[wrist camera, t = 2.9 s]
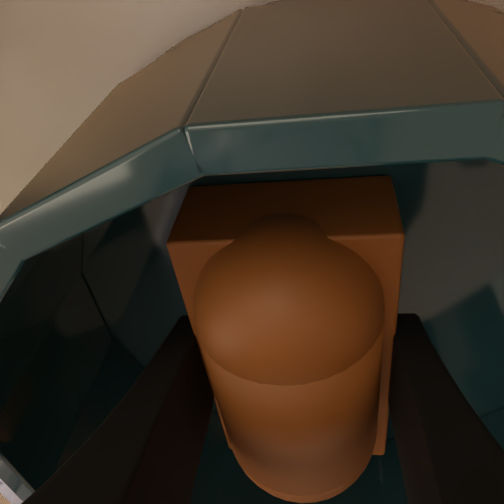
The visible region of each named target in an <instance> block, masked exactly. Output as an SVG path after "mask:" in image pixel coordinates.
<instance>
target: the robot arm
mask: <svg viewBox="0 0 504 504" xmlns="http://www.w3.org/2000/svg"><path fill="white" fill-rule="evenodd" d="M213 403H214V394H213V391H212V388H211V385H210V381H209V378H208V375H207V372H206V368H205V365H204V362H203V359H202V355H201V352H200V349H199V346H198V342H197V339H196V336H195V335H194V333H193V329H192V326H191V323H190V320H189V317H188V315H183V316H181V317H180V318H179V319H178V320H177V322H176V323H175V325H174V326H173V328H172V329H171V331H170V332H169V334H168V335H167V337H166V338H165V340H164V341H163V343H162V344H161V346H160V347H159V349H158V350H157V352H156V353H155V355H154V356H153V358H152V359H151V360H150V362H149V363H148V365H147V366H146V367H145V369H144V370H143V371H142V373H141V374H140V376H139V377H138V378H137V380H136V381H135V382H134V384H133V385H132V386H131V388H130V389H129V390H128V392H127V393H126V394H125V395H124V397H123V398H122V399H121V400H120V402H119V403H118V404H117V405H116V407H115V408H114V409H113V410H112V412H111V413H110V414H109V415H108V416H107V418H106V419H105V420H104V421H103V422H102V423H101V425H100V426H99V427H98V428H97V429H96V430H95V431H94V433H93V434H92V435H91V436H90V437H89V438H88V439H87V440H86V441H85V442H84V444H83V445H82V446H81V447H80V448H79V449H78V450H77V451H76V452H75V453H74V454H73V455H72V456H71V457H70V458H69V459H68V460H67V461H66V462H65V463H64V464H63V465H62V466H61V467H60V468H59V469H58V470H57V471H56V472H55V473H54V474H53V475H52V476H51V477H50V478H49V479H48V480H47V481H46V482H45V483H44V484H43V485H41V486H40V487H39V488H38V489H37V490H36V491H35V492H34V493H33V494H31V495H30V496H29V497H28V498H27V499H26V500H25V501H22V500H21V499H20V498H19V497H18V496H17V495H16V494H15V493H14V492H13V491H12V490H11V489H10V488H9V487H8V486H7V485H6V484H5V483H4V482H3V481H2V480H1V479H0V493H1V494H2V495H3V496H4V497H5V498H6V499H7V500H8V501H9V502H10V503H11V504H190V502H191V497H192V492H193V487H194V483H195V478H196V474H197V470H198V466H199V462H200V458H201V454H202V449H203V445H204V441H205V437H206V433H207V429H208V424H209V420H210V416H211V412H212V407H213ZM388 405H389V411H390V416H391V421H392V426H393V431H394V436H395V440H396V445H397V450H398V455H399V460H400V465H401V470H402V475H403V480H404V484H405V489H406V494H407V500H408V504H504V449H503V448H502V447H501V446H500V444H499V443H498V442H497V441H496V439H495V438H494V437H493V435H492V434H491V433H490V431H489V430H488V429H487V427H486V426H485V424H484V423H483V422H482V420H481V419H480V418H479V416H478V415H477V413H476V412H475V411H474V409H473V408H472V406H471V405H470V403H469V402H468V401H467V399H466V398H465V396H464V395H463V393H462V391H461V390H460V388H459V387H458V385H457V384H456V382H455V381H454V379H453V378H452V376H451V374H450V373H449V371H448V370H447V368H446V366H445V365H444V363H443V361H442V360H441V358H440V356H439V354H438V353H437V351H436V349H435V347H434V346H433V344H432V342H431V340H430V338H429V336H428V334H427V332H426V330H425V328H424V326H423V324H422V322H421V319H420V317H419V316H418V315H417V314H415V313H398V317H397V328H396V334H395V335H394V339H393V350H392V361H391V373H390V384H389V396H388Z"/></svg>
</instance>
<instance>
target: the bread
mask: <svg viewBox="0 0 504 504" xmlns="http://www.w3.org/2000/svg"><path fill="white" fill-rule="evenodd" d="M404 241H405V234H404V229H403V225H402V221H401V216H400V212H399V208H398V203H397V199H396V195H395V190H394V186H393V182H392V178H391V176H388V175H384V176H367V177H349V178H331V179H313V180H296V181H278V182H260V183H242V184H224V185H207V186H191V187H189V188H188V190H187V192H186V195H185V197H184V200H183V202H182V205H181V207H180V210H179V212H178V215H177V217H176V220H175V222H174V225H173V227H172V230H171V232H170V235H169V237H168V240H167V243H166V245H167V249H168V252H169V255H170V258H171V262H172V265H173V268H174V271H175V274H176V278H177V281H178V284H179V287H180V291H181V294H182V297H183V300H184V304H185V307H186V310H187V313H188V317H189V320H190V323H191V326H192V329H193V333H194V335H195V336H196V339H197V342H198V346H199V349H200V352H201V355H202V359H203V362H204V365H205V368H206V372H207V375H208V378H209V381H210V385H211V388H212V391H213V394H214V401H215V404H216V407H217V410H218V414H219V417H220V420H221V423H222V426H223V430H224V433H225V436H226V439H227V443H228V446H229V448H230V449H232V450H233V453H234V455H235V457H236V459H237V461H238V463H239V465H240V466H241V468H242V469H243V471H244V472H245V474H246V475H247V476H248V477H249V478H250V479H251V480H252V481H253V482H254V483H255V484H256V485H257V486H259V487H260V488H262V489H263V490H265V491H266V492H268V493H269V494H271V495H273V496H275V497H278V498H280V499H283V500H285V501H290V502H297V503H315V502H319V501H323V500H327V499H330V498H332V497H334V496H336V495H338V494H340V493H342V492H343V491H345V490H346V489H347V488H348V487H350V486H351V485H352V484H353V483H354V482H355V481H356V480H357V479H358V478H359V476H360V475H361V474H362V473H363V471H364V470H365V469H366V467H367V465H368V463H369V461H370V459H371V457H372V455H384V454H385V448H386V437H387V426H388V415H389V405H388V396H389V384H390V373H391V361H392V350H393V339H394V335H395V334H396V328H397V317H398V306H399V295H400V284H401V274H402V263H403V252H404Z"/></svg>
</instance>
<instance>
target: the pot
mask: <svg viewBox="0 0 504 504" xmlns="http://www.w3.org/2000/svg"><path fill="white" fill-rule="evenodd" d="M384 175H388V176H391V178H392V182H393V186H394V190H395V195H396V199H397V203H398V208H399V212H400V216H401V221H402V225H403V229H404V234H405V241H404V252H403V263H402V274H401V284H400V295H399V306H398V313H415V314H417V315H418V316H419V317H420V319H421V322H422V324H423V326H424V328H425V330H426V332H427V334H428V336H429V338H430V340H431V342H432V344H433V346H434V347H435V349H436V351H437V353H438V354H439V356H440V358H441V360H442V361H443V363H444V365H445V366H446V368H447V370H448V371H449V373H450V374H451V376H452V378H453V379H454V381H455V382H456V384H457V385H458V387H459V388H460V390H461V391H462V393H463V395H464V396H465V398H466V399H467V401H468V402H469V403H470V405H471V406H472V408H473V409H474V411H475V412H476V413H477V415H478V416H479V418H480V419H481V420H482V422H483V423H484V424H485V426H486V427H487V429H488V430H489V431H490V433H491V434H492V435H493V437H494V438H495V439H496V441H497V442H498V443H499V444H500V446H501V447H502V448H503V449H504V11H501V10H499V9H497V8H494V7H491V6H487V5H483V4H479V3H475V2H471V1H467V0H279V1H274V2H271V3H268V4H265V5H259V6H251V7H246V8H244V9H243V10H242V9H239V10H237V11H236V12H234V13H233V14H231V15H229V16H228V17H226V18H224V19H223V20H221V21H219V22H217V23H215V24H213V25H211V26H209V27H207V28H205V29H203V30H202V31H200V32H198V33H196V34H194V35H192V36H190V37H188V38H186V39H184V40H182V41H181V42H179V43H178V44H176V45H175V46H174V47H172V48H171V49H170V50H168V51H167V52H166V53H164V54H163V55H161V56H160V57H159V58H157V59H156V60H155V61H153V62H152V63H151V64H149V65H148V66H146V67H145V68H144V69H142V70H140V71H139V72H137V73H135V74H134V75H132V76H131V77H129V78H127V79H126V80H124V81H122V82H121V83H119V84H118V85H117V86H116V87H115V88H114V89H113V90H112V91H111V92H110V93H109V95H108V96H107V97H106V98H105V99H104V100H103V101H102V102H101V103H100V105H99V106H98V107H97V108H96V109H95V110H94V111H93V112H92V113H91V114H90V116H89V117H88V118H87V119H86V120H85V121H84V122H83V123H82V124H81V126H80V127H79V128H78V129H77V130H76V131H75V132H74V133H73V134H72V136H71V137H70V138H69V139H68V140H67V141H66V142H65V143H64V144H63V146H62V147H61V148H60V149H59V150H58V151H57V152H56V153H55V154H54V156H53V157H52V158H51V159H50V160H49V161H48V162H47V163H46V164H45V166H44V167H43V168H42V169H41V170H40V171H39V172H38V173H37V174H36V176H35V177H34V178H33V179H32V180H31V181H30V182H29V183H28V184H27V186H26V187H25V188H24V189H23V190H22V191H21V192H20V193H19V194H18V196H17V197H16V198H15V199H14V200H13V201H12V202H11V203H10V204H9V206H8V207H7V208H6V209H5V210H4V211H3V212H2V213H1V214H0V479H1V480H2V481H3V482H4V483H5V484H6V485H7V486H8V487H9V488H10V489H11V490H12V491H13V492H14V493H15V494H16V495H17V496H18V497H19V498H20V499H21V500H22V501H25V500H26V499H27V498H28V497H29V496H30V495H31V494H33V493H34V492H35V491H36V490H37V489H38V488H39V487H40V486H41V485H43V484H44V483H45V482H46V481H47V480H48V479H49V478H50V477H51V476H52V475H53V474H54V473H55V472H56V471H57V470H58V469H59V468H60V467H61V466H62V465H63V464H64V463H65V462H66V461H67V460H68V459H69V458H70V457H71V456H72V455H73V454H74V453H75V452H76V451H77V450H78V449H79V448H80V447H81V446H82V445H83V444H84V442H85V441H86V440H87V439H88V438H89V437H90V436H91V435H92V434H93V433H94V431H95V430H96V429H97V428H98V427H99V426H100V425H101V423H102V422H103V421H104V420H105V419H106V418H107V416H108V415H109V414H110V413H111V412H112V410H113V409H114V408H115V407H116V405H117V404H118V403H119V402H120V400H121V399H122V398H123V397H124V395H125V394H126V393H127V392H128V390H129V389H130V388H131V386H132V385H133V384H134V382H135V381H136V380H137V378H138V377H139V376H140V374H141V373H142V371H143V370H144V369H145V367H146V366H147V365H148V363H149V362H150V360H151V359H152V358H153V356H154V355H155V353H156V352H157V350H158V349H159V347H160V346H161V344H162V343H163V341H164V340H165V338H166V337H167V335H168V334H169V332H170V331H171V329H172V328H173V326H174V325H175V323H176V322H177V320H178V319H179V318H180V317H181V316H183V315H188V313H187V310H186V307H185V304H184V300H183V297H182V294H181V291H180V287H179V284H178V281H177V278H176V274H175V271H174V268H173V265H172V262H171V258H170V255H169V252H168V249H167V245H166V243H167V240H168V237H169V235H170V232H171V230H172V227H173V225H174V222H175V220H176V217H177V215H178V212H179V210H180V207H181V205H182V202H183V200H184V197H185V195H186V192H187V190H188V188H189V187H191V186H207V185H224V184H242V183H260V182H278V181H296V180H313V179H331V178H349V177H367V176H384ZM190 504H408V500H407V494H406V489H405V484H404V480H403V475H402V470H401V465H400V460H399V455H398V450H397V445H396V440H395V436H394V431H393V426H392V421H391V416H390V411H389V415H388V426H387V437H386V448H385V454H384V455H372V457H371V459H370V461H369V463H368V465H367V467H366V469H365V470H364V471H363V473H362V474H361V475H360V476H359V478H358V479H357V480H356V481H355V482H354V483H353V484H352V485H351V486H350V487H348V488H347V489H346V490H345V491H343V492H342V493H340V494H338V495H336V496H334V497H332V498H330V499H327V500H323V501H319V502H315V503H297V502H290V501H285V500H283V499H280V498H278V497H275V496H273V495H271V494H269V493H268V492H266V491H265V490H263V489H262V488H260V487H259V486H257V485H256V484H255V483H254V482H253V481H252V480H251V479H250V478H249V477H248V476H247V475H246V474H245V472H244V471H243V469H242V468H241V466H240V465H239V463H238V461H237V459H236V457H235V455H234V453H233V450H232V449H230V448H229V446H228V443H227V439H226V436H225V433H224V430H223V426H222V423H221V420H220V417H219V414H218V410H217V407H216V404H215V401H214V403H213V407H212V412H211V416H210V420H209V424H208V429H207V433H206V437H205V441H204V445H203V449H202V454H201V458H200V462H199V466H198V470H197V474H196V478H195V483H194V487H193V492H192V497H191V502H190Z"/></svg>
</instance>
